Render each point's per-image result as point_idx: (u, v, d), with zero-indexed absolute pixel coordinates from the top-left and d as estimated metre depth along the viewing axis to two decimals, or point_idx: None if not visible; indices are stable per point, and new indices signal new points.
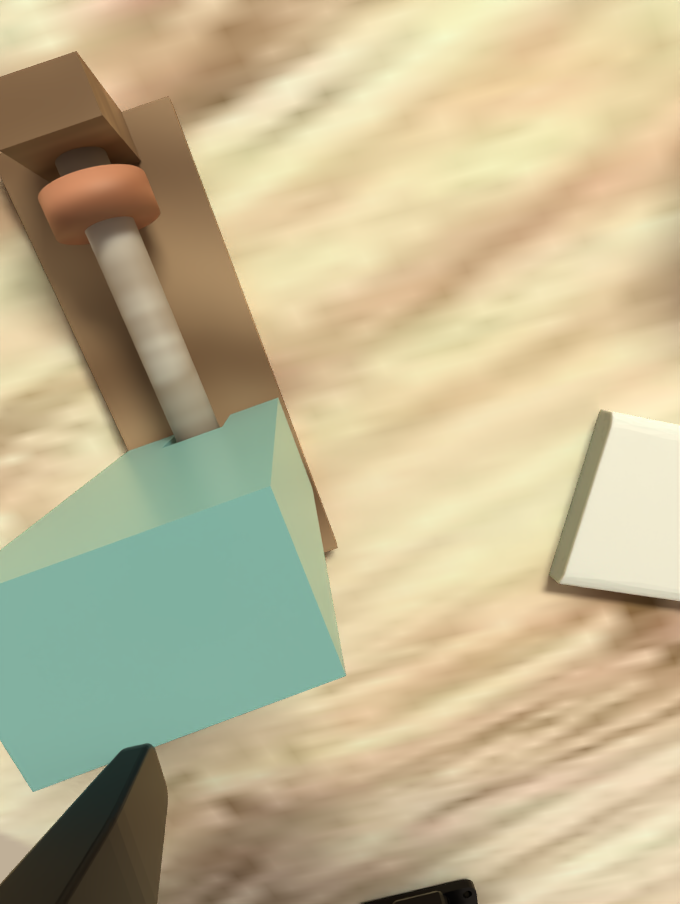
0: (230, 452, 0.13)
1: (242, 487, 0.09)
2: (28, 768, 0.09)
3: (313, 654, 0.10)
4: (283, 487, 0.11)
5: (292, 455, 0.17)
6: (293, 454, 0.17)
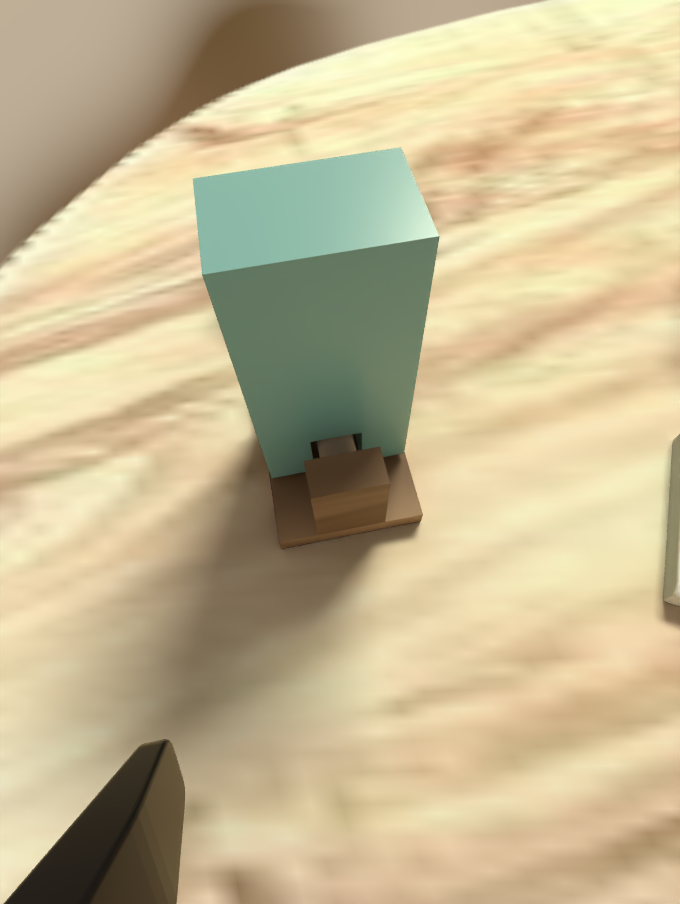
0: None
1: None
2: (207, 260, 0.13)
3: (417, 221, 0.14)
4: None
5: None
6: None
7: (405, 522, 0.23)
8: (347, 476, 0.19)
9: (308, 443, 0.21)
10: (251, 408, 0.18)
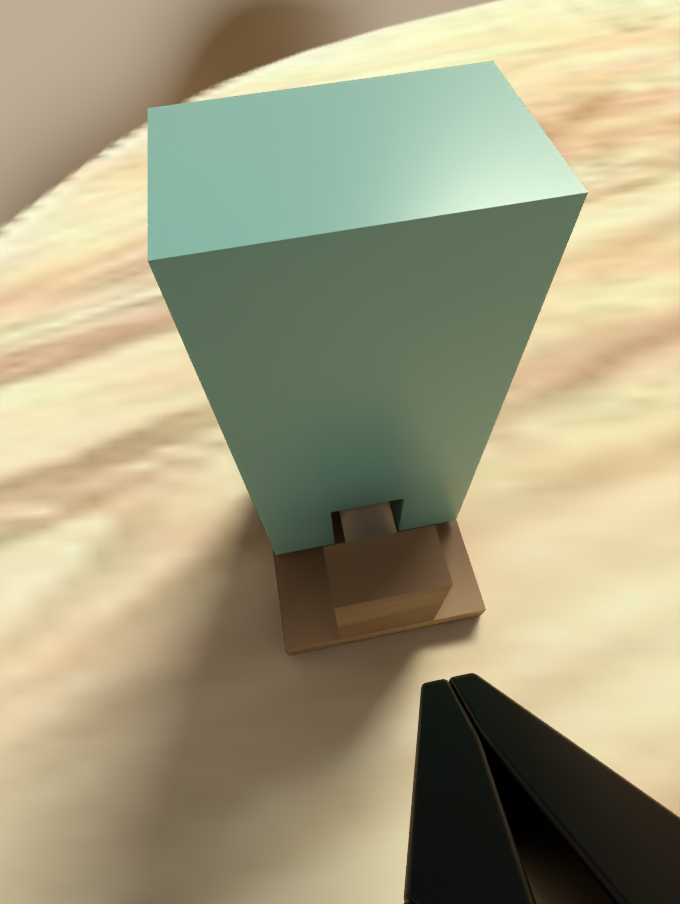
0: None
1: None
2: (159, 235, 0.07)
3: (541, 169, 0.08)
4: None
5: None
6: None
7: (460, 618, 0.17)
8: (388, 572, 0.13)
9: (328, 514, 0.15)
10: (246, 473, 0.12)
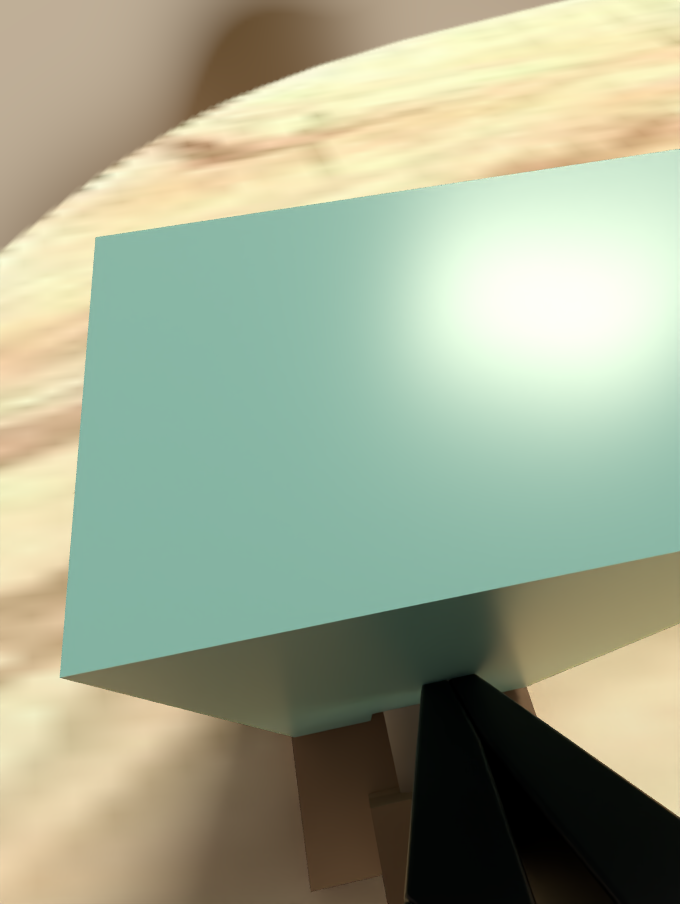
0: None
1: None
2: (91, 585, 0.03)
3: None
4: None
5: None
6: None
7: None
8: None
9: (368, 715, 0.11)
10: (262, 725, 0.08)
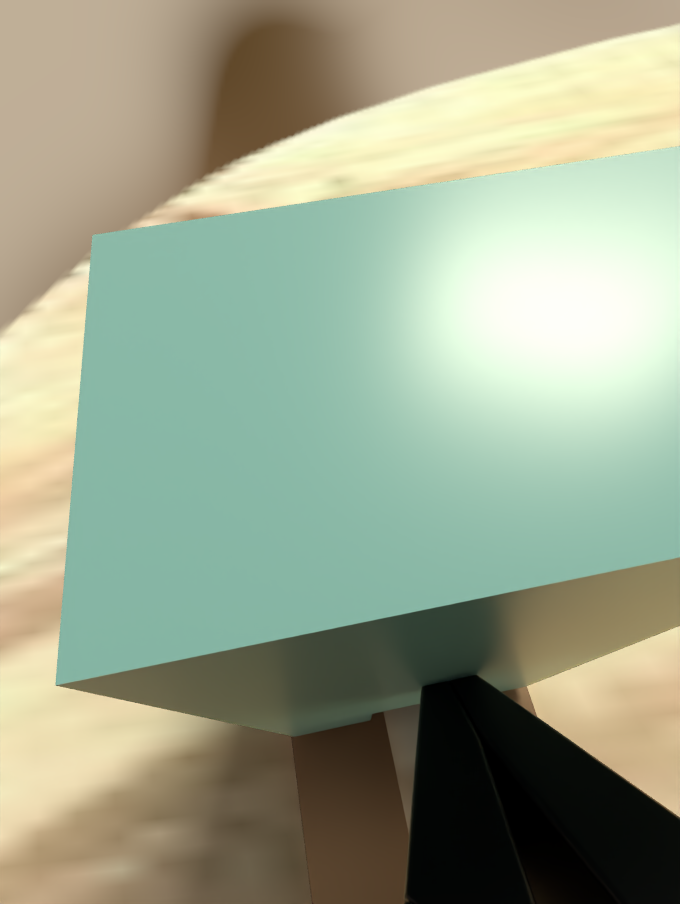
0: None
1: None
2: (88, 591, 0.03)
3: None
4: None
5: None
6: None
7: None
8: None
9: (368, 714, 0.11)
10: (261, 725, 0.08)
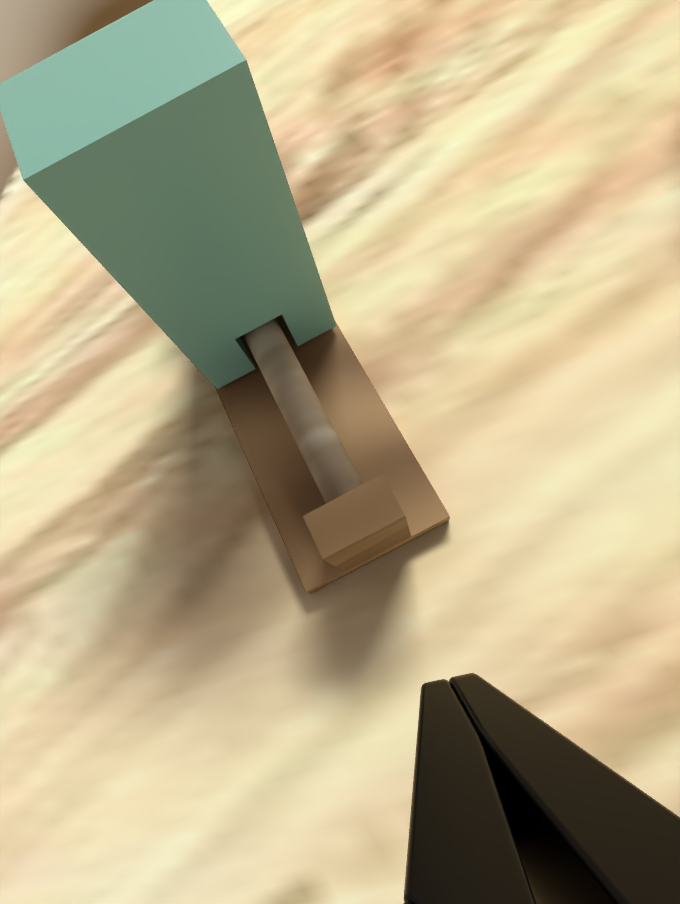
0: None
1: None
2: (24, 163, 0.13)
3: (221, 52, 0.13)
4: None
5: None
6: None
7: (433, 527, 0.21)
8: (355, 521, 0.17)
9: (233, 341, 0.21)
10: (156, 318, 0.18)
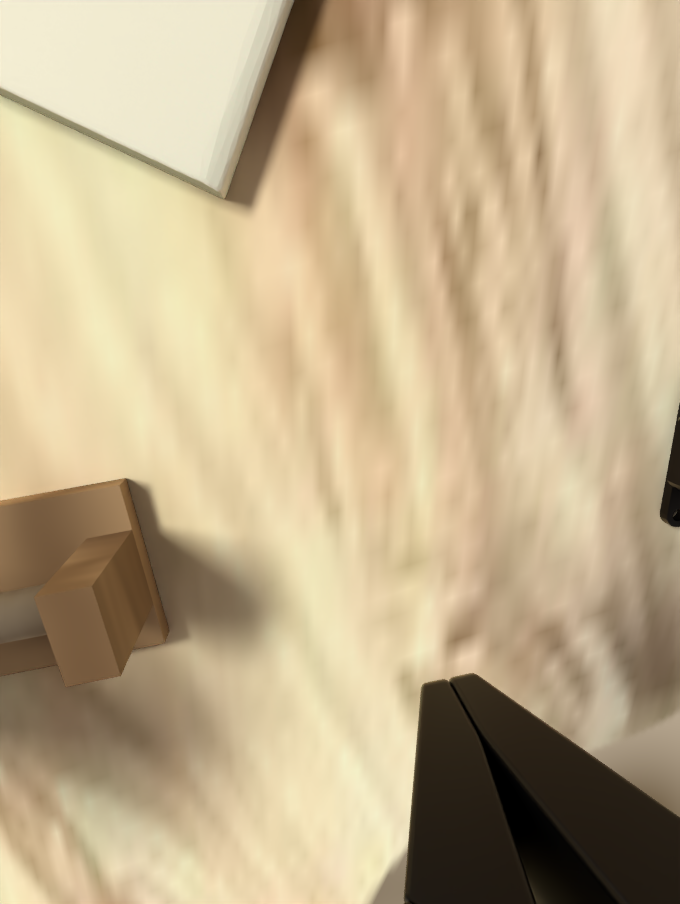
0: None
1: None
2: None
3: None
4: None
5: None
6: None
7: (129, 499, 0.19)
8: (85, 636, 0.15)
9: None
10: None
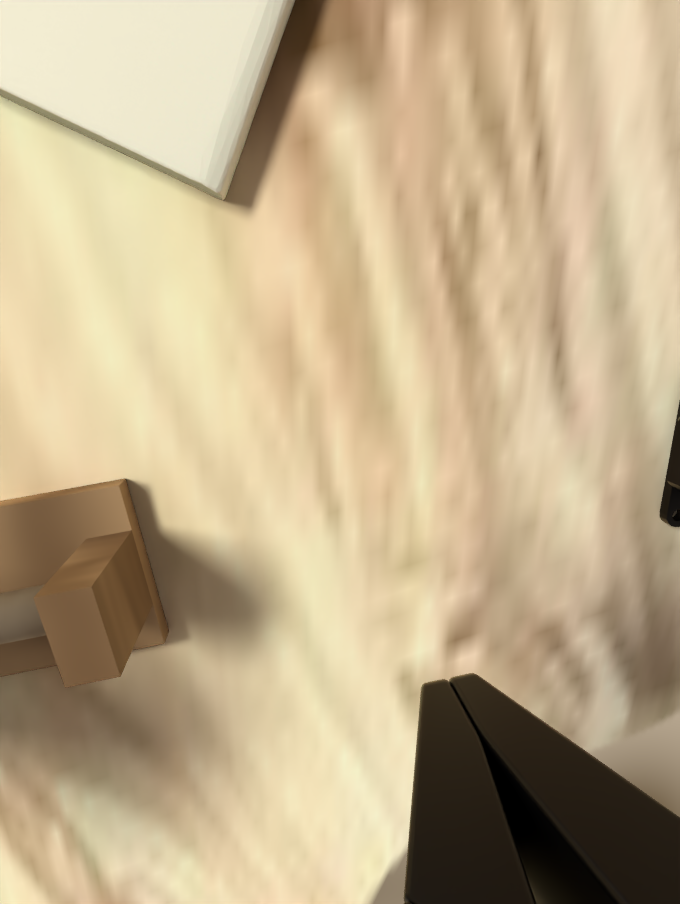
0: None
1: None
2: None
3: None
4: None
5: None
6: None
7: (129, 499, 0.19)
8: (85, 636, 0.15)
9: None
10: None
